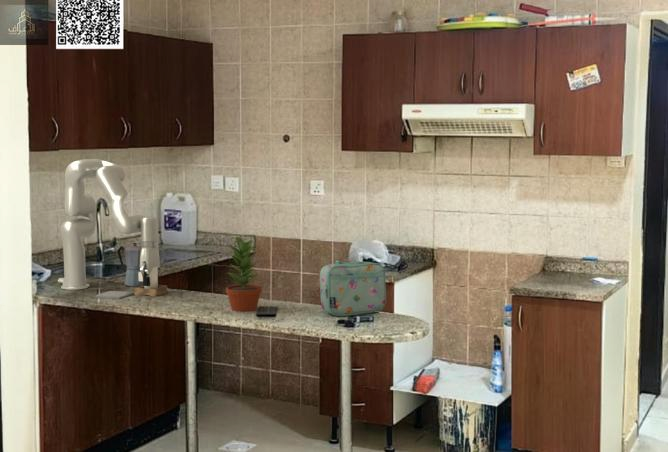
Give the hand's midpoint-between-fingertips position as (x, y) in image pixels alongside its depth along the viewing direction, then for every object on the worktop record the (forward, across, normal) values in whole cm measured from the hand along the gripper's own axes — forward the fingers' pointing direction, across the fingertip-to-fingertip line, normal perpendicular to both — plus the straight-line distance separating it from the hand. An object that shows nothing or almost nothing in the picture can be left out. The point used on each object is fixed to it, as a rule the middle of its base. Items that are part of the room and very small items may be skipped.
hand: (150, 284), depth 440 cm
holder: (+4, 0, 0) cm, 4 cm away
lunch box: (+5, +14, +98) cm, 100 cm away
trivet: (+4, +9, -13) cm, 16 cm away
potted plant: (+5, +19, +54) cm, 57 cm away
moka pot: (+4, -17, -19) cm, 26 cm away
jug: (+4, 0, -1) cm, 5 cm away
